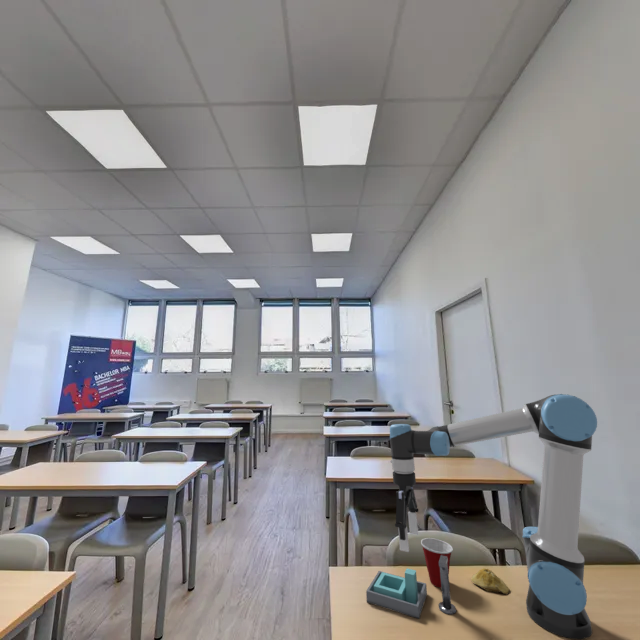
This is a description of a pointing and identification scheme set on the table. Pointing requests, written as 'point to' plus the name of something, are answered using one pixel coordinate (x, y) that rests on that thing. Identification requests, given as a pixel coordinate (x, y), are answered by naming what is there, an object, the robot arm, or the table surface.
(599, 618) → the table surface
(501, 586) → the fossil
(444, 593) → the t stake
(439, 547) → the plastic cup
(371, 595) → the tray
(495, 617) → the table surface
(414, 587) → the tabbed collar
